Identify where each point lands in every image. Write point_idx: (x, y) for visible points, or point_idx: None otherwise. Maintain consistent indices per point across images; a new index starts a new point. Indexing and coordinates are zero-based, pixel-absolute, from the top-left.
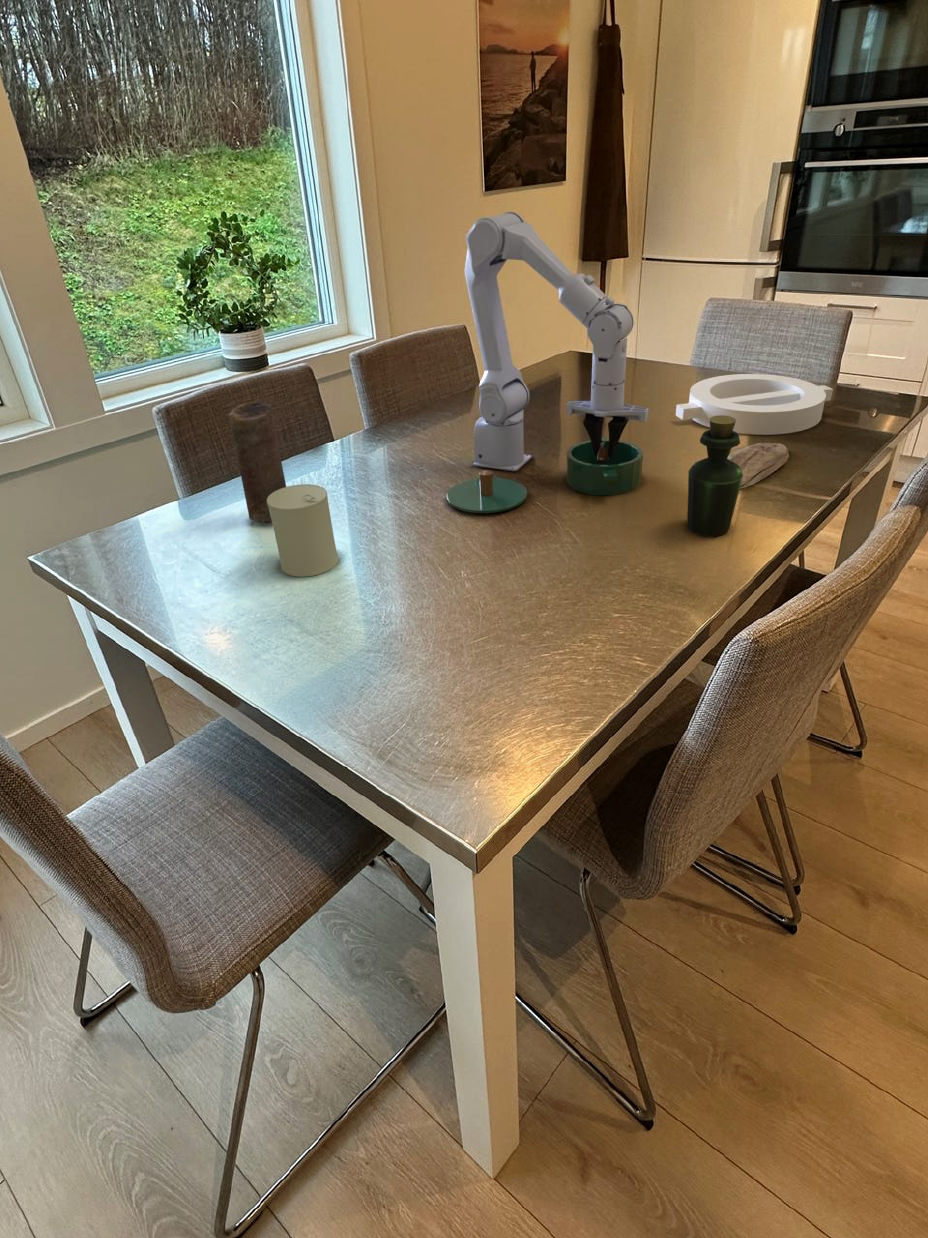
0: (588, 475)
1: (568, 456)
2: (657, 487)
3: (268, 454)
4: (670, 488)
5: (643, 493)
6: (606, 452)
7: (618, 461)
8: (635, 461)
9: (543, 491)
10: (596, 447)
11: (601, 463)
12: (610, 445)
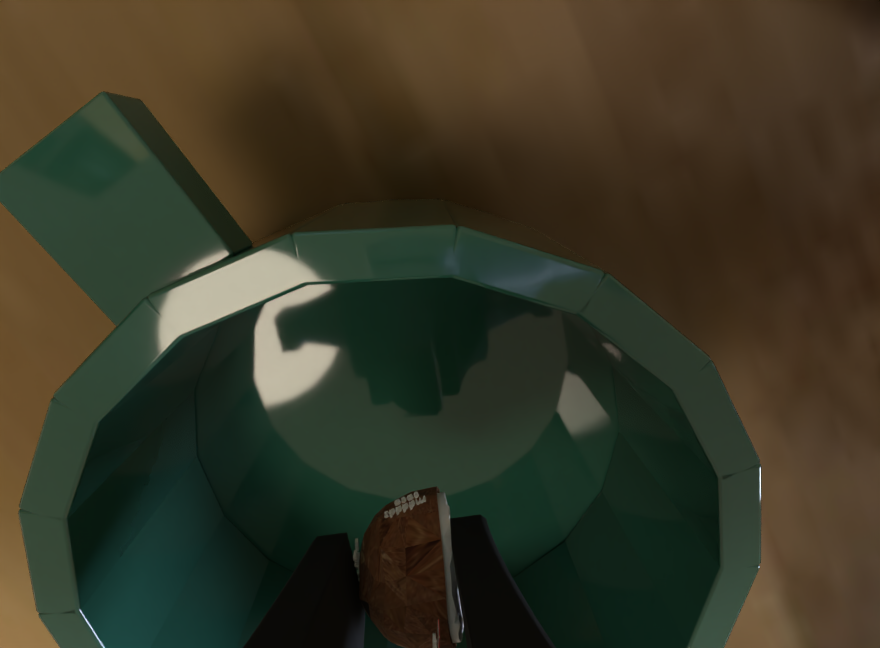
0: (387, 214)
1: (704, 355)
2: None
3: None
4: (10, 503)
5: None
6: (374, 583)
7: None
8: (24, 537)
9: (711, 82)
10: (462, 582)
11: None
12: (277, 644)
